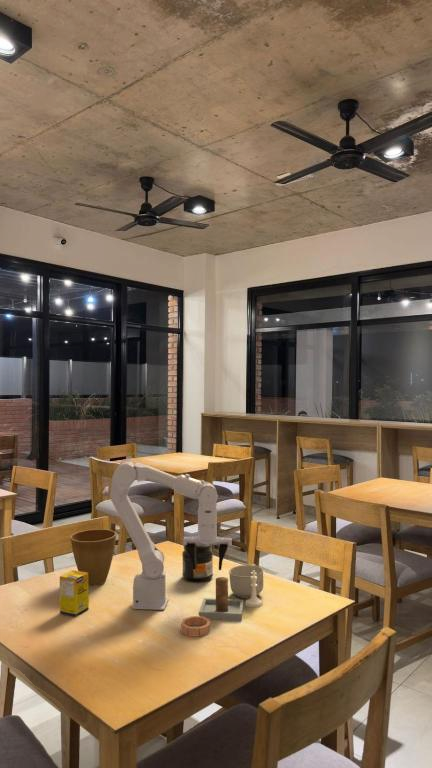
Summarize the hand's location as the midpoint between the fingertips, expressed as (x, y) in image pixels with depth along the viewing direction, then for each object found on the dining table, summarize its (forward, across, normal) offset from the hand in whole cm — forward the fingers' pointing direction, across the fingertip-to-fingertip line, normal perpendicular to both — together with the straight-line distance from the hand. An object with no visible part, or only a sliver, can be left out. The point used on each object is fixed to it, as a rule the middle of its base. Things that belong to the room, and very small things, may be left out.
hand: (207, 568), depth 164 cm
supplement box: (+11, -38, -10) cm, 41 cm away
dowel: (+10, +5, -6) cm, 13 cm away
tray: (+10, +5, -6) cm, 13 cm away
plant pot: (+11, -40, +13) cm, 43 cm away
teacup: (+11, +12, +9) cm, 18 cm away
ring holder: (+10, -1, -18) cm, 21 cm away
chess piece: (+11, +14, +1) cm, 18 cm away
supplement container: (+11, -6, +21) cm, 24 cm away
